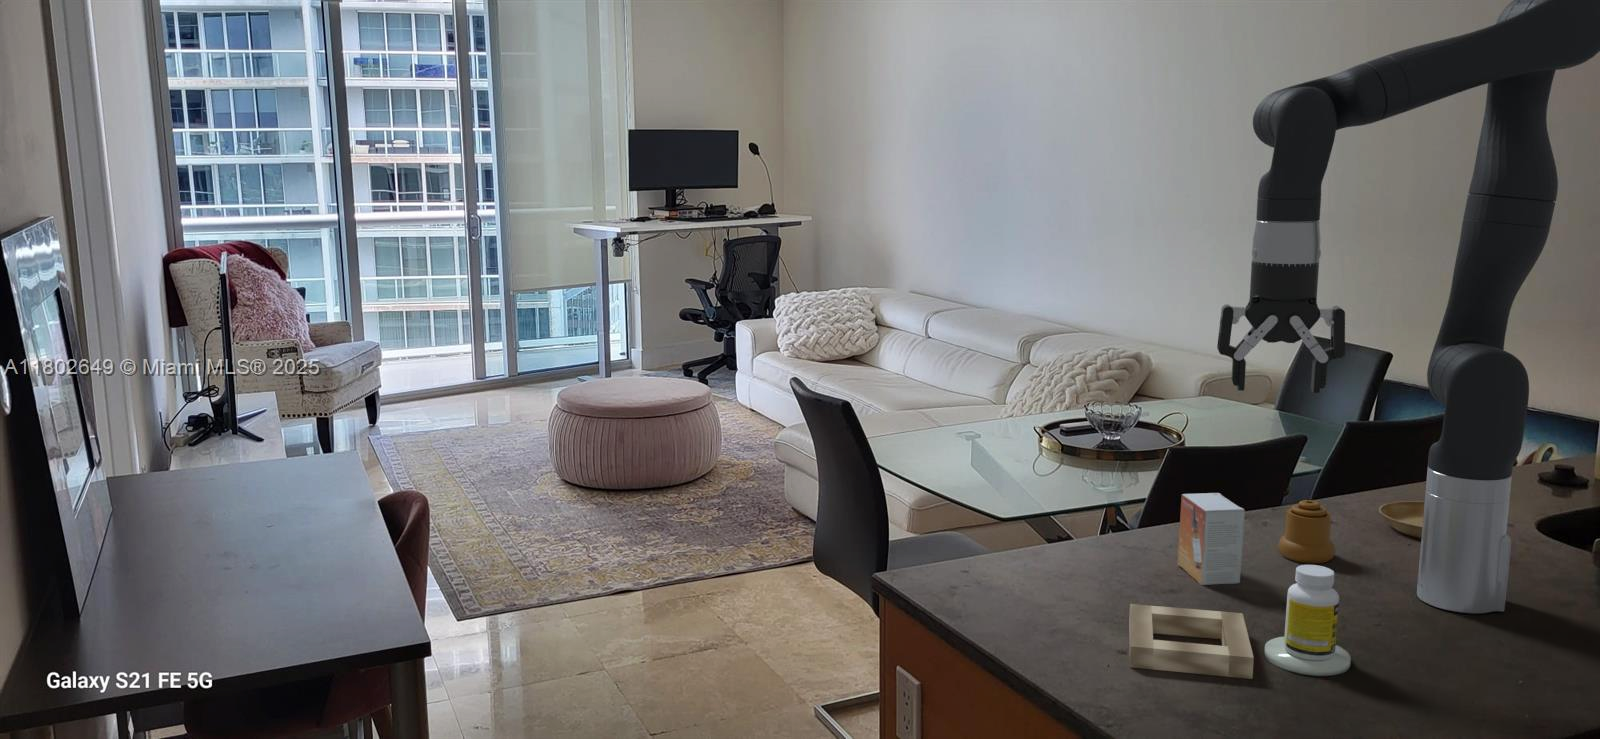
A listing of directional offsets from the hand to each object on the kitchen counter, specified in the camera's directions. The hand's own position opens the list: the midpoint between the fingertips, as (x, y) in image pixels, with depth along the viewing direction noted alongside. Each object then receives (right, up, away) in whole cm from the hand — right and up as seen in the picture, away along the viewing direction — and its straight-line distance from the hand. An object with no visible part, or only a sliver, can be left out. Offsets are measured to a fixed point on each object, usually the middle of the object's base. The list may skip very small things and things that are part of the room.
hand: (1277, 390), depth 144 cm
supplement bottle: (0, -30, -10) cm, 31 cm away
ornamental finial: (+14, -24, +24) cm, 37 cm away
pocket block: (-13, -30, -7) cm, 34 cm away
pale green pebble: (-1, -30, -10) cm, 32 cm away
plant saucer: (+38, -22, +35) cm, 56 cm away
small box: (-3, -26, +17) cm, 31 cm away
